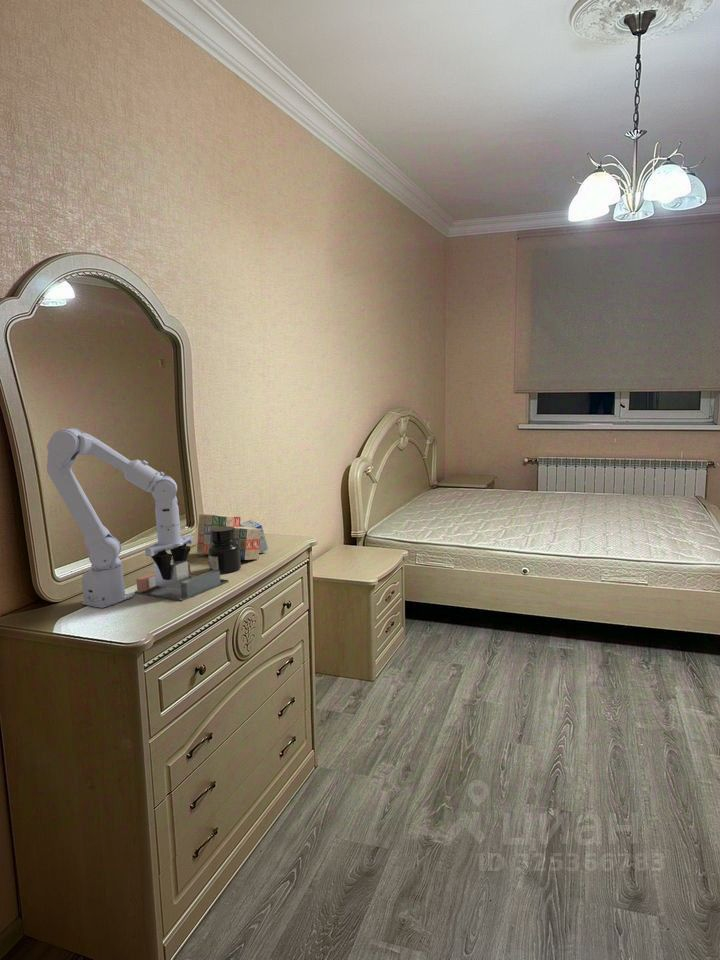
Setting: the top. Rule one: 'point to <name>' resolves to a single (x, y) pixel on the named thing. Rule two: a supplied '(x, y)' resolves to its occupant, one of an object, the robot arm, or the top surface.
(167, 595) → the vise bed
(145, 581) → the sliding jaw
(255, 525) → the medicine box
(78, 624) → the top surface
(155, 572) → the steel block
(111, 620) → the top surface
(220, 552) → the ink bottle
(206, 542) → the stack of blocks
